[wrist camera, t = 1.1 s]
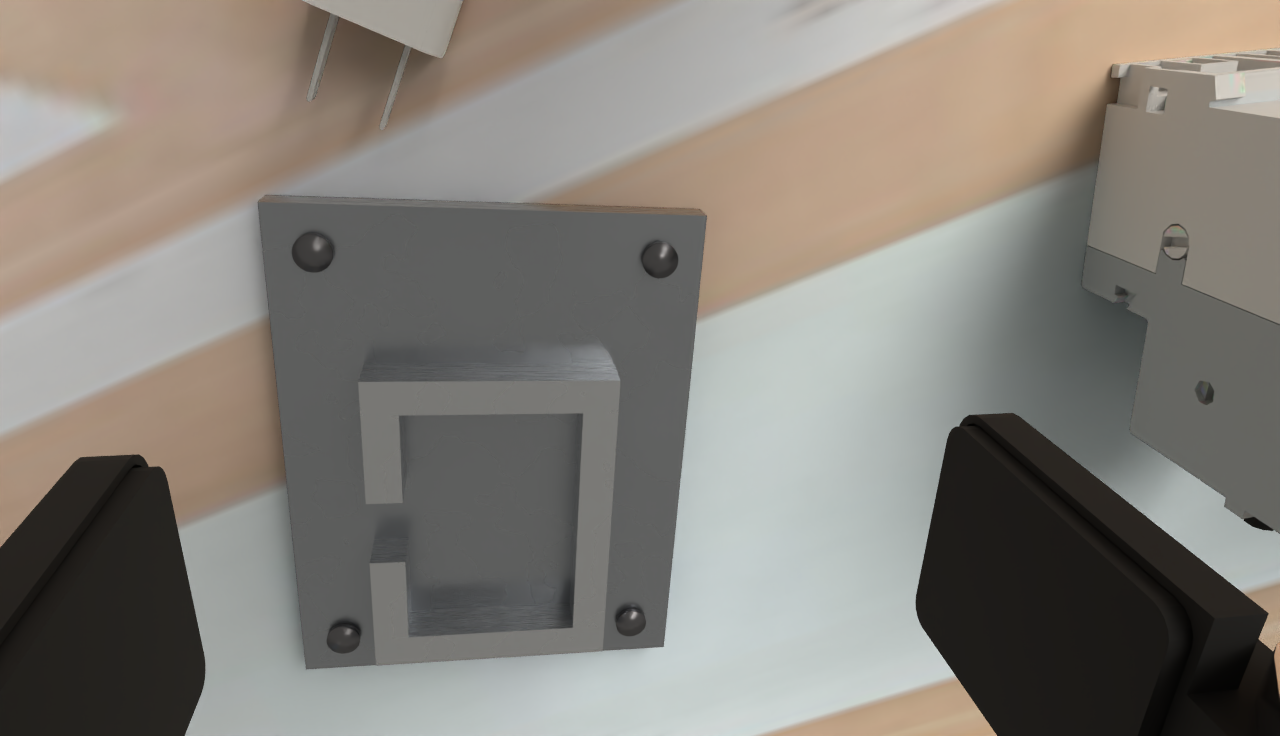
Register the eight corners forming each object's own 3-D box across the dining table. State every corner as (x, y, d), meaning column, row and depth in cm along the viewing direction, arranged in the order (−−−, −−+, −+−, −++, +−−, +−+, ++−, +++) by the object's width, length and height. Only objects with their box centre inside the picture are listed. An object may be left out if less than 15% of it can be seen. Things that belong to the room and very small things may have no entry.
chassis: (265, 194, 27) (245, 213, 25) (699, 209, 29) (718, 226, 27) (310, 651, 34) (298, 698, 32) (659, 630, 36) (670, 672, 34)
